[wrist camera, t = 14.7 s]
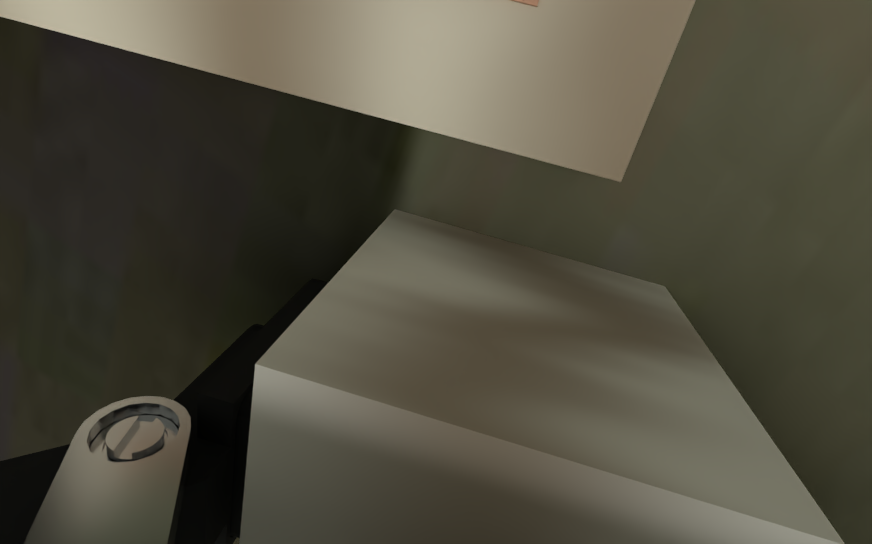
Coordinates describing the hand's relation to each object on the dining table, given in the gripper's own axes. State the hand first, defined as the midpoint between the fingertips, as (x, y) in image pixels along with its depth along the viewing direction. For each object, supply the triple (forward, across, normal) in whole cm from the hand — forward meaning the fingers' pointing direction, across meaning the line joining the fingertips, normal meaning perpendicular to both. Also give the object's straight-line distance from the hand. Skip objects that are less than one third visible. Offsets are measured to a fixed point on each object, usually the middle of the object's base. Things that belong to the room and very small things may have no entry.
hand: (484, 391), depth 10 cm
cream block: (+1, 0, 0) cm, 1 cm away
